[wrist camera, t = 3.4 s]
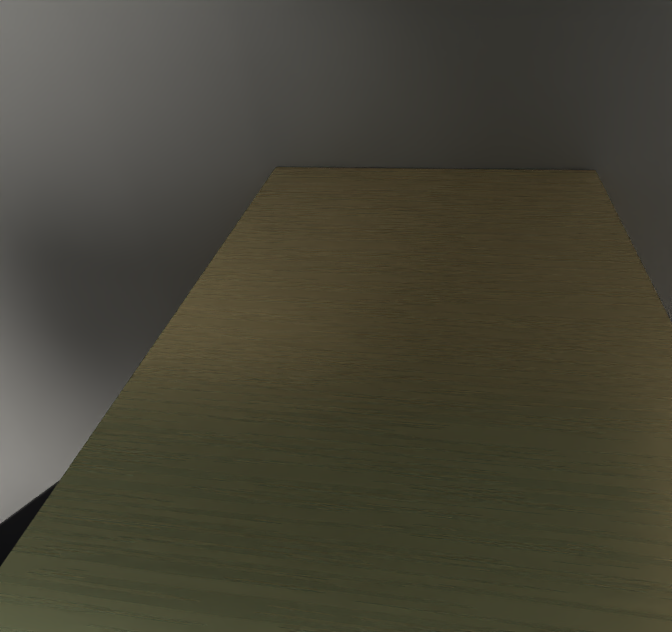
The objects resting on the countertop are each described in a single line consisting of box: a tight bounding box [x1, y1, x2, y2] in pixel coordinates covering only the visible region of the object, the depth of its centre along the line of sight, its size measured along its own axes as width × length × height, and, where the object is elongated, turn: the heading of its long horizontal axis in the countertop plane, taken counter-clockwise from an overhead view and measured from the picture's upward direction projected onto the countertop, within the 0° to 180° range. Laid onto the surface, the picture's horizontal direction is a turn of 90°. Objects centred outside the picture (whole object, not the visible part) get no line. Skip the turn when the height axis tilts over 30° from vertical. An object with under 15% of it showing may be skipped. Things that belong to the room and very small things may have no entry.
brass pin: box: [0, 167, 672, 632], centre depth 6 cm, size 5×5×9 cm
